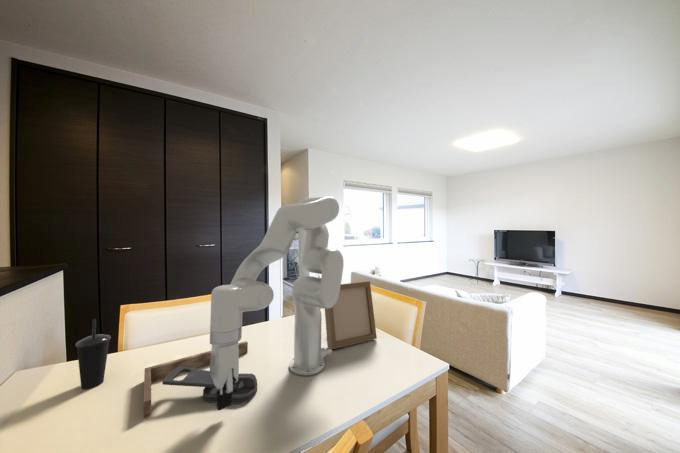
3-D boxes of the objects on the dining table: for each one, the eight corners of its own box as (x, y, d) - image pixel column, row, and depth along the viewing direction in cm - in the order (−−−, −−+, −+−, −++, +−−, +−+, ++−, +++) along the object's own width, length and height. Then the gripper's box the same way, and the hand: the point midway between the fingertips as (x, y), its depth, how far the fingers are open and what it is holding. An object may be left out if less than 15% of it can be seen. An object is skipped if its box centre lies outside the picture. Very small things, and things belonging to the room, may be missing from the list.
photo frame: (376, 340, 107) (377, 283, 107) (332, 351, 97) (332, 288, 97) (358, 328, 120) (359, 277, 120) (317, 337, 110) (318, 281, 110)
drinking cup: (68, 395, 70) (70, 325, 70) (81, 380, 77) (83, 317, 77) (104, 388, 73) (105, 321, 74) (113, 374, 80) (114, 313, 80)
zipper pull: (178, 364, 75) (260, 362, 77) (177, 386, 75) (260, 383, 76) (158, 382, 66) (252, 380, 68) (157, 407, 66) (251, 404, 68)
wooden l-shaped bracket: (246, 351, 96) (246, 341, 96) (264, 373, 82) (264, 361, 82) (144, 381, 77) (144, 368, 77) (143, 417, 62) (143, 402, 62)
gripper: (204, 328, 67) (202, 396, 66) (216, 349, 55) (214, 432, 54) (233, 322, 71) (231, 386, 71) (250, 340, 60) (248, 417, 59)
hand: (223, 406), depth 63 cm, fingers closed
